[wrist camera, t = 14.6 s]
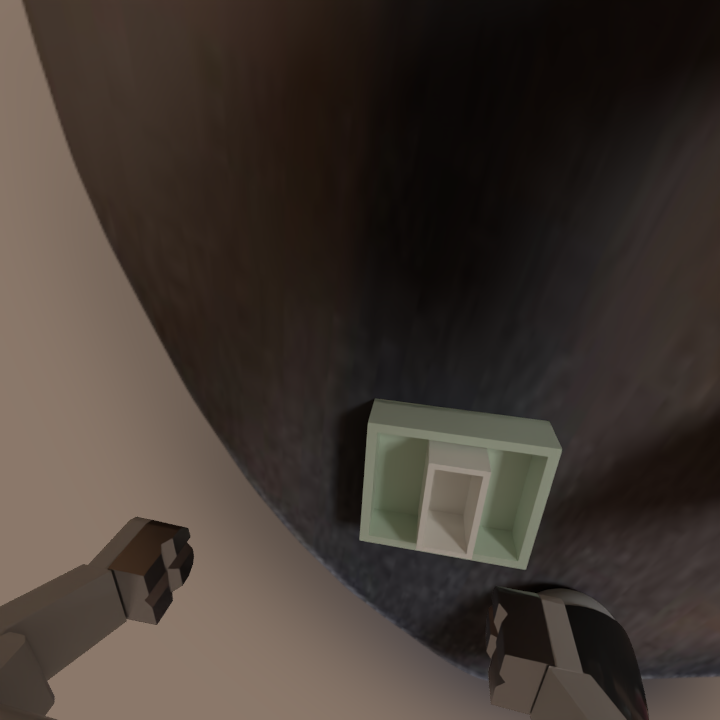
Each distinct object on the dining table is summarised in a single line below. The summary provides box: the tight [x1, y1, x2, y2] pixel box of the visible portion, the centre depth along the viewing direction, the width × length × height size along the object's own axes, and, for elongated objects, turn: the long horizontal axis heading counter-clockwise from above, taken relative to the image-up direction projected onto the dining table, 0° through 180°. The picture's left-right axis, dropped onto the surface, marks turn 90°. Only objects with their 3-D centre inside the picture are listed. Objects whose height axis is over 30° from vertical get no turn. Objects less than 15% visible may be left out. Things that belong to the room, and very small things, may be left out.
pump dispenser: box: [537, 588, 649, 720], centre depth 35 cm, size 10×10×15 cm
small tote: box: [416, 440, 491, 560], centre depth 35 cm, size 5×9×5 cm, turn 177°
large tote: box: [360, 398, 562, 570], centre depth 36 cm, size 15×13×4 cm
